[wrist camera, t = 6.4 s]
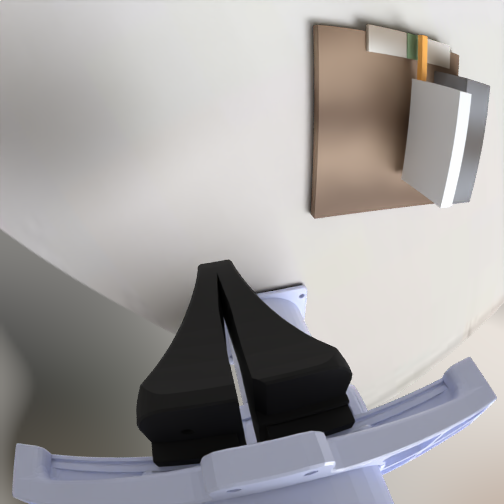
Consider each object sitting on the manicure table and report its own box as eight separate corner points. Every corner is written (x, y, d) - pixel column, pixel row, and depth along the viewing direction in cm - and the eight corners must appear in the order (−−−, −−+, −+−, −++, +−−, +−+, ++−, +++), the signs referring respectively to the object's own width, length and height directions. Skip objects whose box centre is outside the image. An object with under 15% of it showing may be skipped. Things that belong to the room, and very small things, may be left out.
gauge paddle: (412, 178, 22) (451, 206, 18) (401, 179, 22) (440, 207, 18) (425, 37, 15) (474, 42, 11) (412, 33, 15) (462, 37, 11)
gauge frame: (433, 199, 25) (463, 222, 22) (310, 213, 24) (334, 244, 20) (452, 48, 17) (491, 56, 13) (312, 18, 15) (345, 11, 12)
